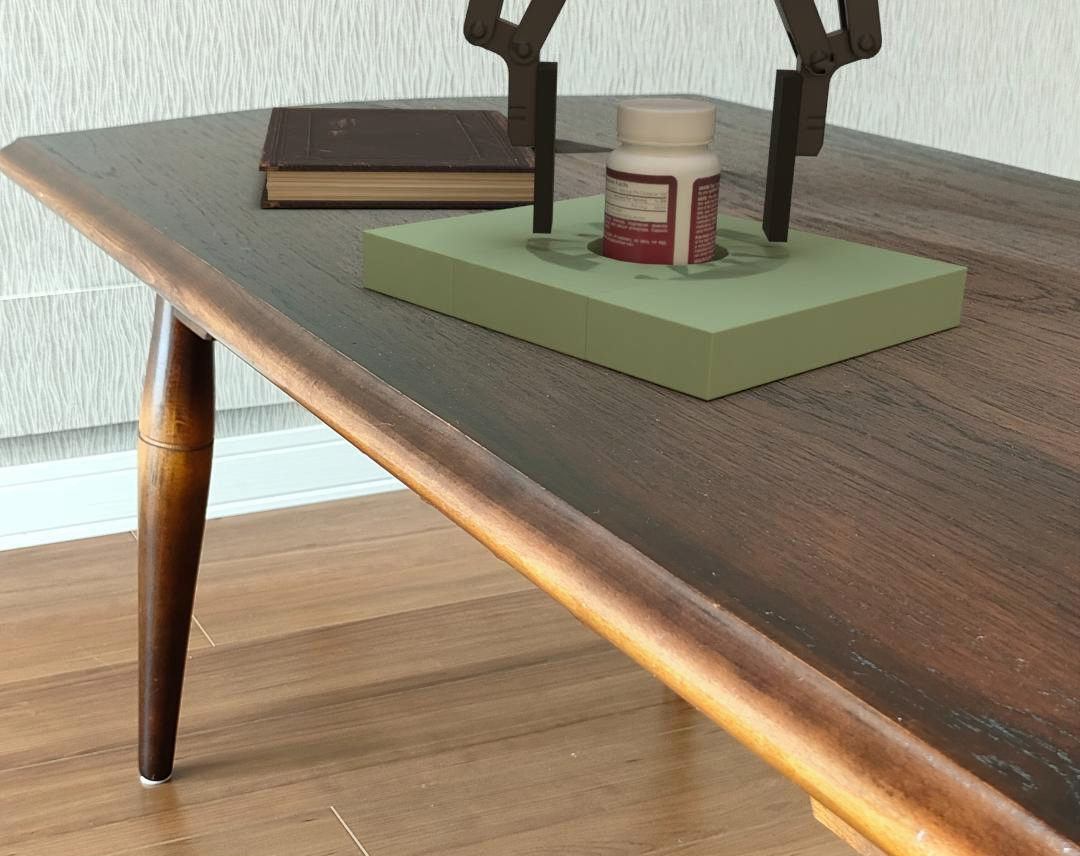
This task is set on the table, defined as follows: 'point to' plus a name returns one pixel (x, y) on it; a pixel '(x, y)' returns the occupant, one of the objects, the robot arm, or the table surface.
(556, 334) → the socket pad
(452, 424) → the table surface
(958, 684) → the table surface
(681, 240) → the pill bottle
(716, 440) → the table surface
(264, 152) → the hardcover book
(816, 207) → the table surface
